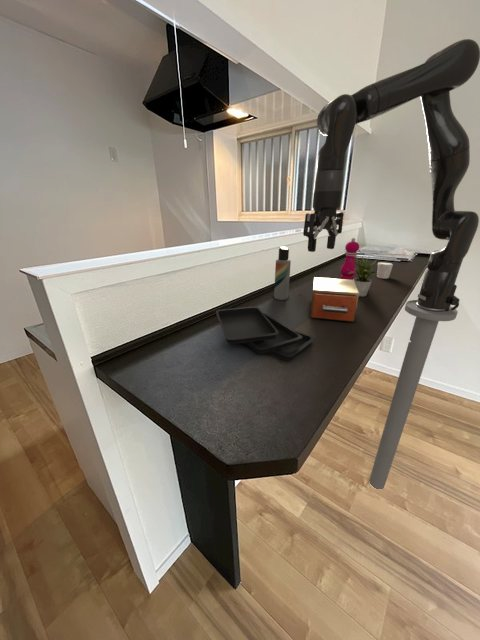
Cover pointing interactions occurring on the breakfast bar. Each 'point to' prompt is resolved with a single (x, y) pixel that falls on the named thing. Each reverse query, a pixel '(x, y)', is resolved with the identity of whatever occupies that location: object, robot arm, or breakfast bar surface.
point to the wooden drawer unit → (334, 306)
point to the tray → (262, 332)
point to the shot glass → (384, 269)
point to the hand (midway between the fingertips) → (321, 250)
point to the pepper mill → (351, 252)
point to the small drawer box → (334, 289)
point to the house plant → (363, 276)
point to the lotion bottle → (282, 274)
